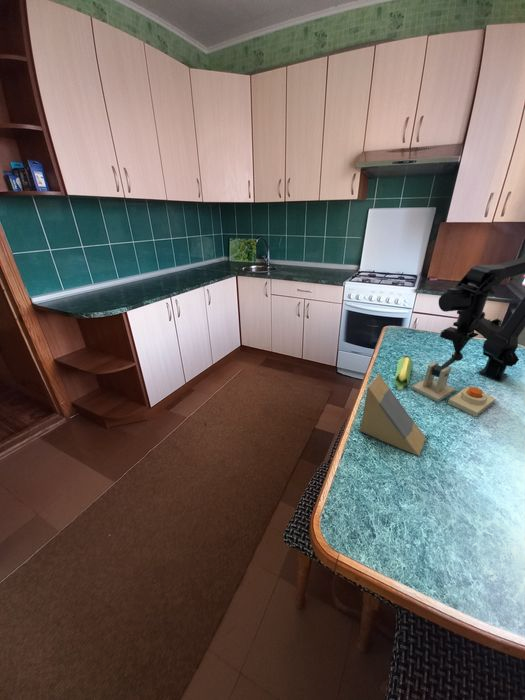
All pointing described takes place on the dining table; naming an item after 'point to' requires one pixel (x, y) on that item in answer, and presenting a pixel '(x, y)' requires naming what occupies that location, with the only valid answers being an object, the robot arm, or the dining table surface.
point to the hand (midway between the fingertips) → (457, 352)
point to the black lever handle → (447, 363)
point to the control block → (471, 402)
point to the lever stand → (434, 384)
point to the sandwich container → (389, 419)
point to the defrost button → (475, 392)
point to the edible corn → (403, 371)
